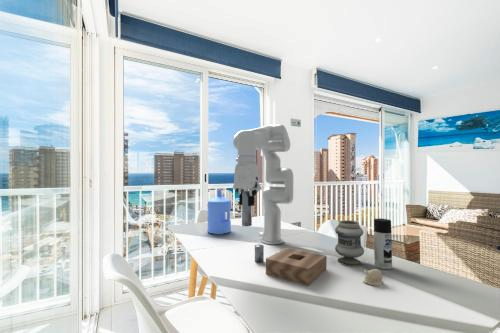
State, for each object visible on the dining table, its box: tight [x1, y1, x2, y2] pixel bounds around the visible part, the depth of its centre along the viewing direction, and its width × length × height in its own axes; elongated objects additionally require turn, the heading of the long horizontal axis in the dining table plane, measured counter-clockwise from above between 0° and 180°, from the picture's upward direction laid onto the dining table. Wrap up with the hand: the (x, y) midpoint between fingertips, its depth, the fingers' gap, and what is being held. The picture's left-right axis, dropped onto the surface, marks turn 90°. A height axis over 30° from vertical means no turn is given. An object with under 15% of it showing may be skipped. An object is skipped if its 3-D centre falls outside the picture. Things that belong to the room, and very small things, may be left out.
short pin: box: [254, 244, 265, 264], centre depth 115 cm, size 4×4×7 cm
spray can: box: [373, 218, 393, 270], centre depth 109 cm, size 7×7×20 cm
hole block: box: [265, 247, 327, 287], centre depth 103 cm, size 18×18×6 cm
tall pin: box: [241, 190, 253, 227], centre depth 105 cm, size 4×4×14 cm
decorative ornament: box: [362, 268, 384, 287], centre depth 93 cm, size 4×8×5 cm, turn 105°
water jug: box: [206, 189, 232, 235], centre depth 171 cm, size 16×16×28 cm
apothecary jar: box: [334, 219, 365, 267], centre depth 114 cm, size 12×12×18 cm
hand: (246, 204), depth 105 cm, fingers closed on tall pin, 4 cm apart
